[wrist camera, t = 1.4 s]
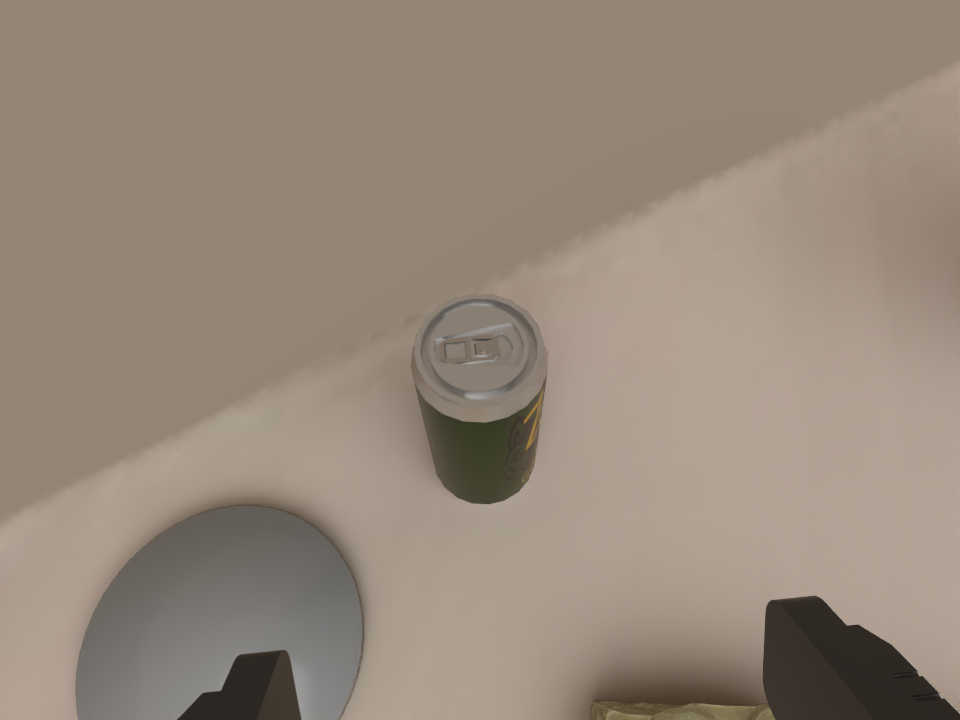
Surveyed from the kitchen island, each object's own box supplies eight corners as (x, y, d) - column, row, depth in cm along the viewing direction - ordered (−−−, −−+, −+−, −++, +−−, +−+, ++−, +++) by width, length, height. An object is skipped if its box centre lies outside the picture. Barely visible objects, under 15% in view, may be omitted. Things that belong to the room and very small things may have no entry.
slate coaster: (314, 469, 35) (310, 464, 34) (405, 718, 29) (403, 718, 28) (67, 578, 32) (57, 575, 31) (111, 875, 26) (100, 880, 26)
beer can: (437, 513, 33) (409, 417, 23) (432, 418, 36) (405, 294, 26) (540, 504, 33) (559, 404, 23) (527, 410, 36) (540, 283, 26)
